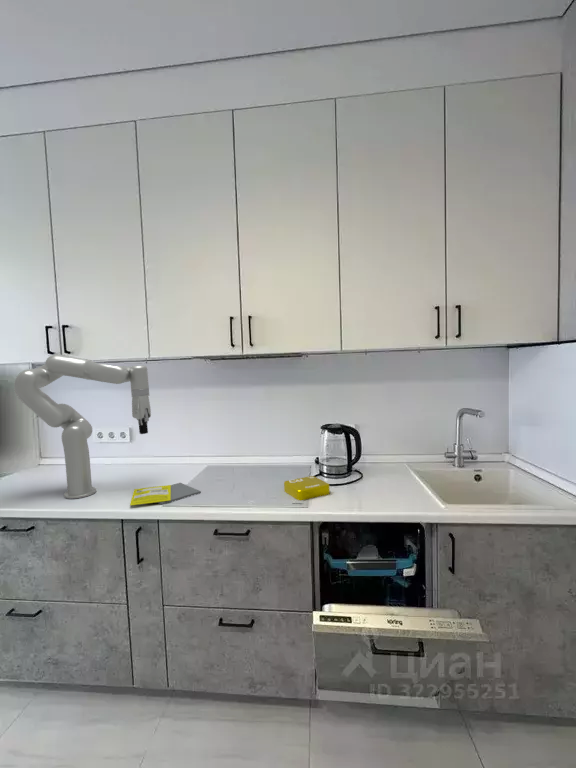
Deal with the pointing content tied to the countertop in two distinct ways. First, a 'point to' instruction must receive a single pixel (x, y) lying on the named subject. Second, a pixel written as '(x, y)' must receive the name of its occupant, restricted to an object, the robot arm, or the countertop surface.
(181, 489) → the mat
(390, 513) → the countertop surface
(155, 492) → the food package
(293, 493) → the element tile
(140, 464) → the countertop surface
